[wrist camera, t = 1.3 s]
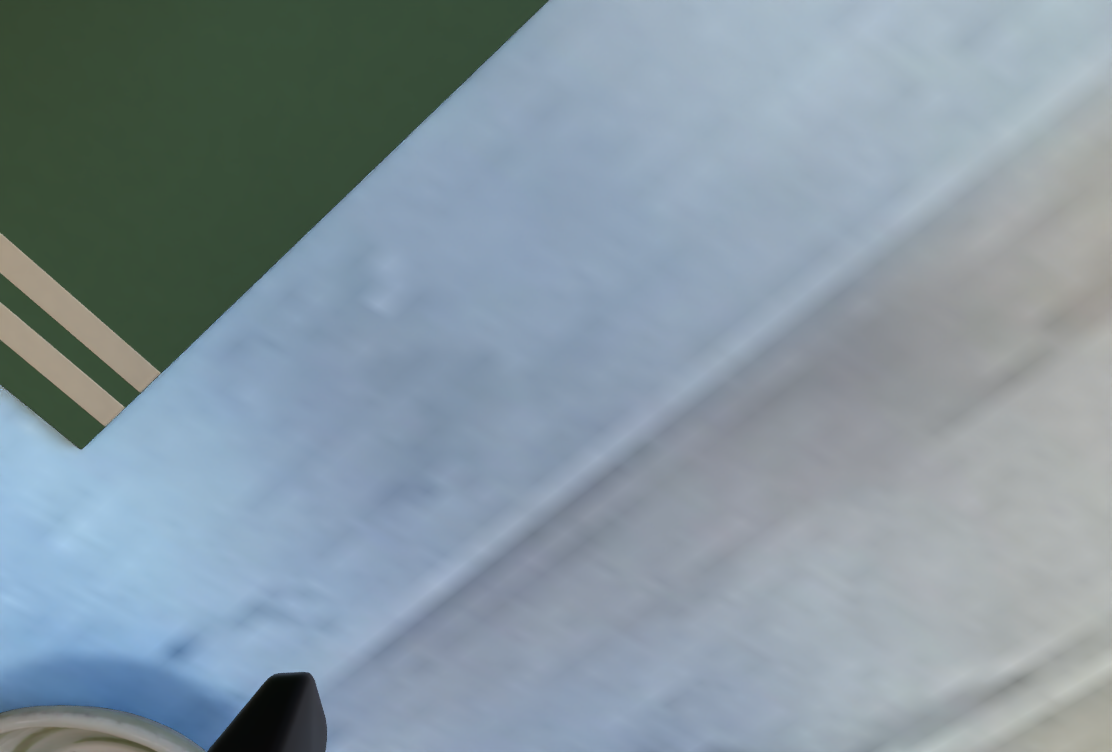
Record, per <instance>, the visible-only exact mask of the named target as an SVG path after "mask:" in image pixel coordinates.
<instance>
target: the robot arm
mask: <svg viewBox="0 0 1112 752" xmlns="http://www.w3.org/2000/svg"><path fill="white" fill-rule="evenodd" d="M326 742H327V724H326V718H325V715H324V711H323V708H322V704H321V701H320V697H319V694H318V690H317V687H316V683H315V680H314V678H313V676H312V675H311V674H310V673H307V672H295V673H278V674H274V675H273V676H271V677H270V678H268V679H267V680H266V681H265V682H264V684H263V685H262V686H261V687H260V689H259V690H258V691H257V692H256V693H255V695H254V696H253V697H252V698H251V699H250V701H249V702H248V703H247V704H246V705H245V707H244V708H243V709H242V710H241V711H240V713H239V714H238V715H237V716H236V717H235V719H234V720H233V721H232V722H231V723H230V725H229V726H228V727H227V728H226V729H225V731H224V732H223V733H222V734H221V735H220V737H219V738H218V739H217V740H216V742H215V743H214V744H213V745H212V746H211V748H210V749H209V750H208V751H207V752H325V751H326Z"/></svg>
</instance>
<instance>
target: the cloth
mask: <svg viewBox="0 0 1112 752" xmlns="http://www.w3.org/2000/svg"><path fill="white" fill-rule="evenodd" d="M547 1H549V0H0V384H1V385H2V386H3V387H4V388H5V389H7V390H8V391H9V392H10V393H12V394H13V395H14V396H15V397H17V398H18V399H19V400H20V401H21V402H23V403H24V404H25V405H26V406H28V407H29V408H30V409H31V410H33V411H34V412H35V413H36V414H37V415H39V416H40V417H41V418H42V419H44V420H45V421H46V422H47V423H49V424H50V425H51V426H52V427H53V428H55V429H56V430H57V431H58V432H60V433H61V434H62V435H63V436H65V437H66V438H67V439H68V440H69V441H71V442H72V443H73V444H74V445H76V446H77V447H78V448H79V449H83V448H84V447H85V446H86V445H87V444H88V443H89V442H90V441H91V440H92V439H93V438H94V437H95V436H96V435H97V434H98V433H99V432H101V431H102V430H103V429H104V428H105V427H106V426H107V425H108V424H109V423H110V422H111V421H112V420H113V419H114V418H115V417H116V416H117V415H118V414H119V413H120V412H121V411H122V410H123V409H124V408H125V407H126V406H128V405H129V404H130V403H131V402H132V401H133V400H134V399H135V398H136V397H137V396H138V395H139V394H140V393H141V392H142V391H143V390H144V389H145V388H146V387H147V386H148V385H149V384H150V383H151V382H152V381H154V380H155V379H156V378H157V377H158V376H159V375H160V374H161V373H162V372H163V371H164V370H165V369H166V368H167V367H168V366H169V365H170V364H171V363H172V362H173V361H174V360H175V359H176V358H177V357H178V356H180V355H181V354H182V353H183V352H184V351H185V350H186V349H187V348H188V347H189V346H190V345H191V344H192V343H193V342H194V341H195V340H196V339H197V338H198V337H199V336H200V335H201V334H202V333H203V332H204V331H206V330H207V329H208V328H209V327H210V326H211V325H212V324H213V323H214V322H215V321H216V320H217V319H218V318H219V317H220V316H221V315H222V314H223V313H224V312H225V311H226V310H227V309H228V308H229V307H230V306H231V305H233V304H234V303H235V302H236V301H237V300H238V299H239V298H240V297H241V296H242V295H243V294H244V293H245V292H246V291H247V290H248V289H249V288H250V287H251V286H252V285H253V284H254V283H255V282H256V281H257V280H259V279H260V278H261V277H262V276H263V275H264V274H265V273H266V272H267V271H268V270H269V269H270V268H271V267H272V266H273V265H274V264H275V263H276V262H277V261H278V260H279V259H280V258H281V257H282V256H283V255H285V254H286V253H287V252H288V251H289V250H290V249H291V248H292V247H293V246H294V245H295V244H296V243H297V242H298V241H299V240H300V239H301V238H302V237H303V236H304V235H305V234H306V233H307V232H308V231H309V230H310V229H312V228H313V227H314V226H315V225H316V224H317V223H318V222H319V221H320V220H321V219H322V218H323V217H324V216H325V215H326V214H327V213H328V212H329V211H330V210H331V209H332V208H333V207H334V206H335V205H336V204H338V203H339V202H340V201H341V200H342V199H343V198H344V197H345V196H346V195H347V194H348V193H349V192H350V191H351V190H352V189H353V188H354V187H355V186H356V185H357V184H358V183H359V182H360V181H361V180H362V179H364V178H365V177H366V176H367V175H368V174H369V173H370V172H371V171H372V170H373V169H374V168H375V167H376V166H377V165H378V164H379V163H380V162H381V161H382V160H383V159H384V158H385V157H386V156H387V155H388V154H389V153H391V152H392V151H393V150H394V149H395V148H396V147H397V146H398V145H399V144H400V143H401V142H402V141H403V140H404V139H405V138H406V137H407V136H408V135H409V134H410V133H411V132H412V131H413V130H414V129H415V128H417V127H418V126H419V125H420V124H421V123H422V122H423V121H424V120H425V119H426V118H427V117H428V116H429V115H430V114H431V113H432V112H433V111H434V110H435V109H436V108H437V107H438V106H439V105H440V104H441V103H443V102H444V101H445V100H446V99H447V98H448V97H449V96H450V95H451V94H452V93H453V92H454V91H455V90H456V89H457V88H458V87H459V86H460V85H461V84H462V83H463V82H464V81H465V80H466V79H467V78H468V77H470V76H471V75H472V74H473V73H474V72H475V71H476V70H477V69H478V68H479V67H480V66H481V65H482V64H483V63H484V62H485V61H486V60H487V59H488V58H489V57H490V56H491V55H492V54H493V53H494V52H496V51H497V50H498V49H499V48H500V47H501V46H502V45H503V44H504V43H505V42H506V41H507V40H508V39H509V38H510V37H511V36H512V35H513V34H514V33H515V32H516V31H517V30H518V29H519V28H520V27H522V26H523V25H524V24H525V23H526V22H527V21H528V20H529V19H530V18H531V17H532V16H533V15H534V14H535V13H536V12H537V11H538V10H539V9H540V8H541V7H542V6H543V5H544V4H545V3H546V2H547Z"/></svg>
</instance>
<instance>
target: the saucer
mask: <svg viewBox="0 0 1112 752" xmlns="http://www.w3.org/2000/svg"><path fill="white" fill-rule="evenodd" d="M0 752H206V751H205V750H204V749H202V748H201V747H200V746H198V745H197V744H196V743H194V742H193V741H191V740H190V739H188V738H187V737H185V736H184V735H182V734H180V733H178V732H177V731H175V730H173V729H171V728H169V727H167V726H165V725H162V724H160V723H158V722H155V721H153V720H150V719H147V718H144V717H141V716H138V715H135V714H131V713H128V712H123V711H118V710H113V709H107V708H100V707H89V706H67V705H56V706H35V707H26V708H20V709H15V710H10V711H6V712H2V713H0Z"/></svg>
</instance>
